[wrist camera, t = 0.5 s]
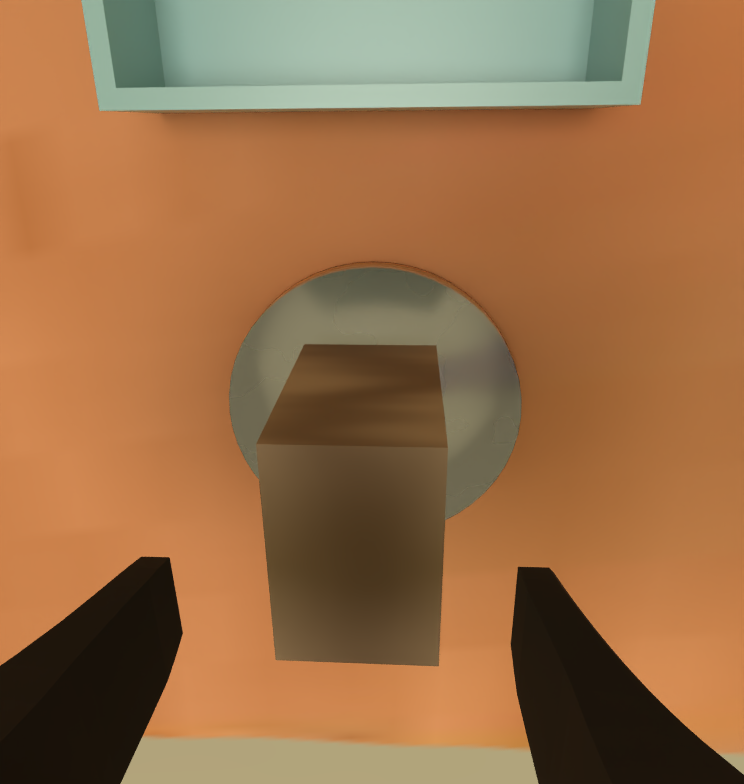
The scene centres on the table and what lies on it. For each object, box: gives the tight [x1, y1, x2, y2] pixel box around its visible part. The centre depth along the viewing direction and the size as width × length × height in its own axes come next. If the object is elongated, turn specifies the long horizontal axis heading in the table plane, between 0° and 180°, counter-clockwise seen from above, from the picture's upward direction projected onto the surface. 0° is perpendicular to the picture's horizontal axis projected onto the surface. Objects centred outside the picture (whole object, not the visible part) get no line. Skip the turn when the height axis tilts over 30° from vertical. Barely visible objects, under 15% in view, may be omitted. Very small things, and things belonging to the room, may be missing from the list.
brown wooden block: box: [256, 344, 448, 666], centre depth 18 cm, size 5×6×8 cm
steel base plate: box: [229, 262, 521, 520], centre depth 22 cm, size 10×10×1 cm
